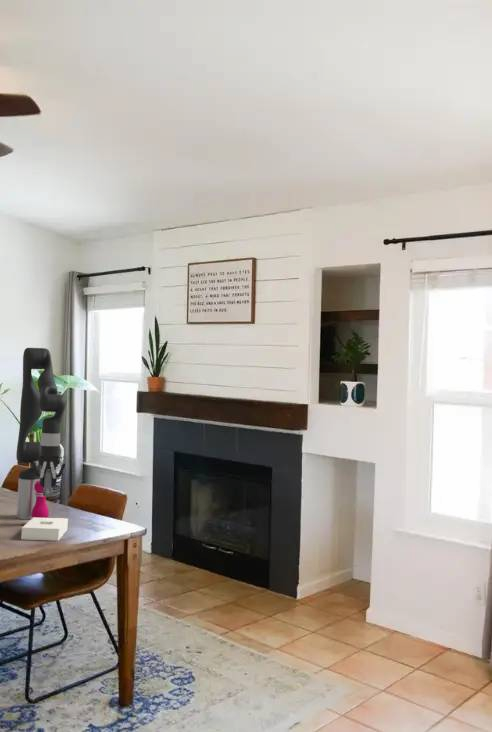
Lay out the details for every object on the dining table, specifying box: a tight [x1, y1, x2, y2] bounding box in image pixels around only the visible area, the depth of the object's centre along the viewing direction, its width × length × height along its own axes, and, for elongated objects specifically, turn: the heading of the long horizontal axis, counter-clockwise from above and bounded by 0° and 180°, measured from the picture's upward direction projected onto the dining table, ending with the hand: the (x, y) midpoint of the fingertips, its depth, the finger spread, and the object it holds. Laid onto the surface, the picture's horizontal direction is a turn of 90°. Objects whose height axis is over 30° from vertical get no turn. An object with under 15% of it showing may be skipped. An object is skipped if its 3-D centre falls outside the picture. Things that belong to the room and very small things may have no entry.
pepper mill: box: [31, 481, 50, 518], centre depth 303 cm, size 7×7×20 cm
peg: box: [43, 469, 54, 497], centre depth 286 cm, size 4×4×10 cm
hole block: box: [20, 517, 69, 542], centre depth 285 cm, size 20×14×4 cm
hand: (47, 487), depth 286 cm, fingers closed on peg, 3 cm apart
